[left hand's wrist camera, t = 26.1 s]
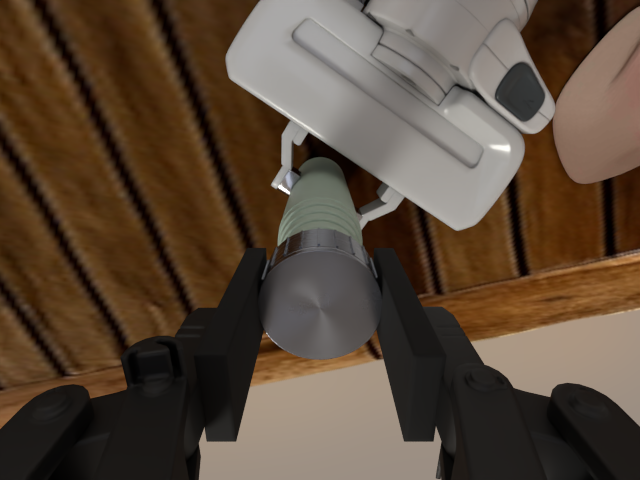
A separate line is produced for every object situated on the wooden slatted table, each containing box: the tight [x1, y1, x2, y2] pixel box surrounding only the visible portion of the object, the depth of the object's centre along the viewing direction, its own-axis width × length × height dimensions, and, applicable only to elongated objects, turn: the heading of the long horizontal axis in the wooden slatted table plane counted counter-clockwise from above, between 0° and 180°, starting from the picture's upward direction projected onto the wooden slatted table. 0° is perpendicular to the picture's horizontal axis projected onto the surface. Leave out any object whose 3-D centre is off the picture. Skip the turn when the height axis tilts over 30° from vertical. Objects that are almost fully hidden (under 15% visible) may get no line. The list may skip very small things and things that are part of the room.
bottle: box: [278, 157, 362, 246], centre depth 23 cm, size 4×4×21 cm
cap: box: [258, 228, 382, 360], centre depth 14 cm, size 4×5×2 cm
